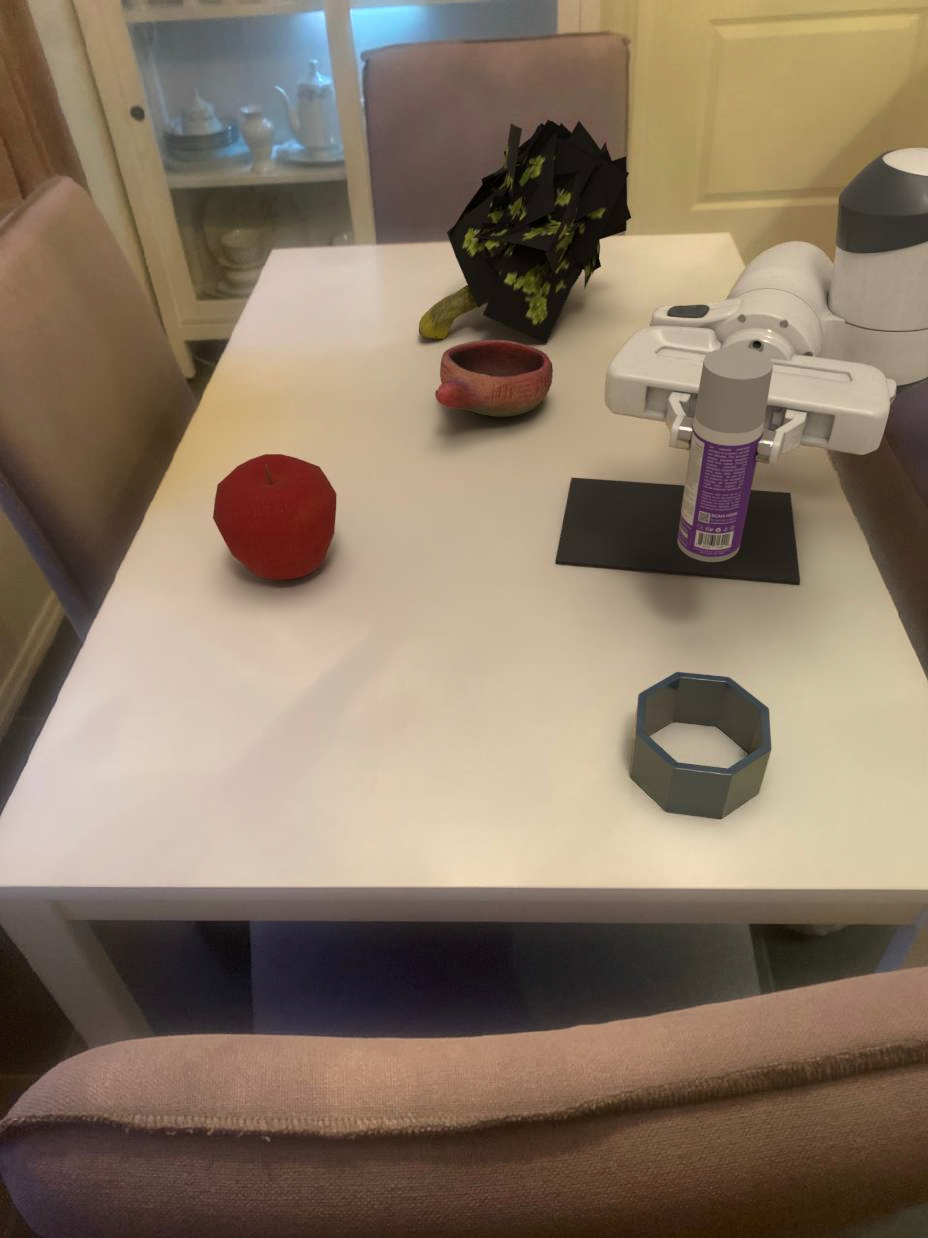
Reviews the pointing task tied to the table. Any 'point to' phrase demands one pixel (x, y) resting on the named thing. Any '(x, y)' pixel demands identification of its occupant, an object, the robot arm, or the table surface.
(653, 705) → the octagonal ring
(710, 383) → the container
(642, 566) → the mat
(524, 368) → the bowl
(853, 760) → the table surface
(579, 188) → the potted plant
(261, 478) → the apple
